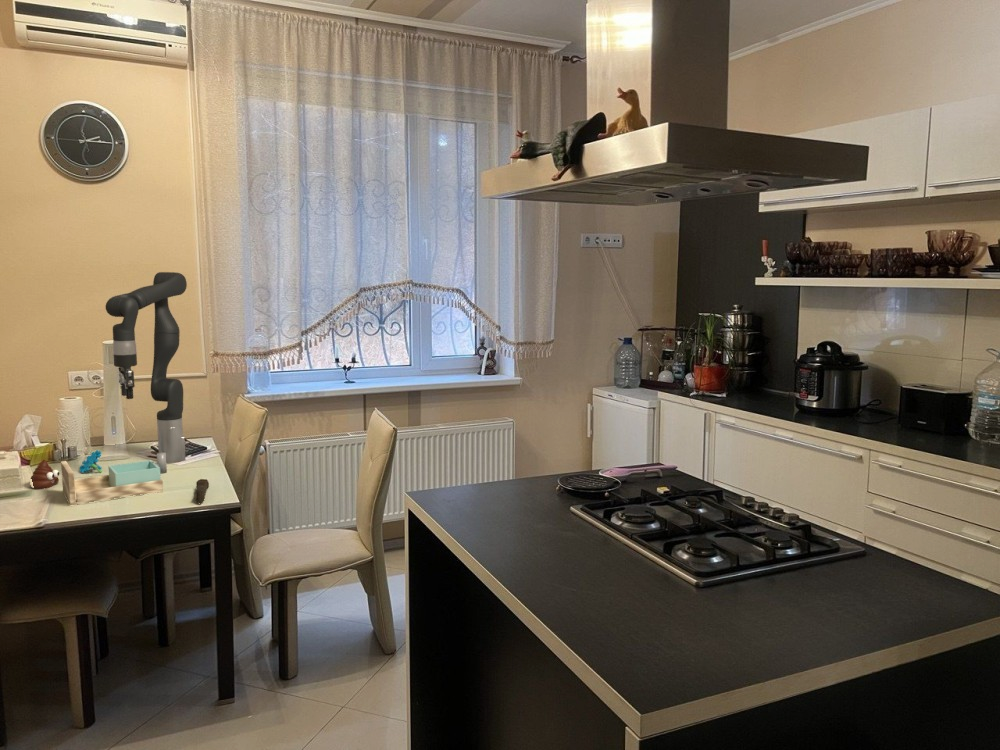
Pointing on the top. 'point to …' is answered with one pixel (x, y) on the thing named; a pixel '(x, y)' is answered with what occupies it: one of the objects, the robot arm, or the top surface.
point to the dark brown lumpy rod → (201, 489)
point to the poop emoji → (44, 476)
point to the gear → (91, 462)
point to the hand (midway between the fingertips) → (127, 397)
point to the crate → (137, 471)
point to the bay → (100, 487)
